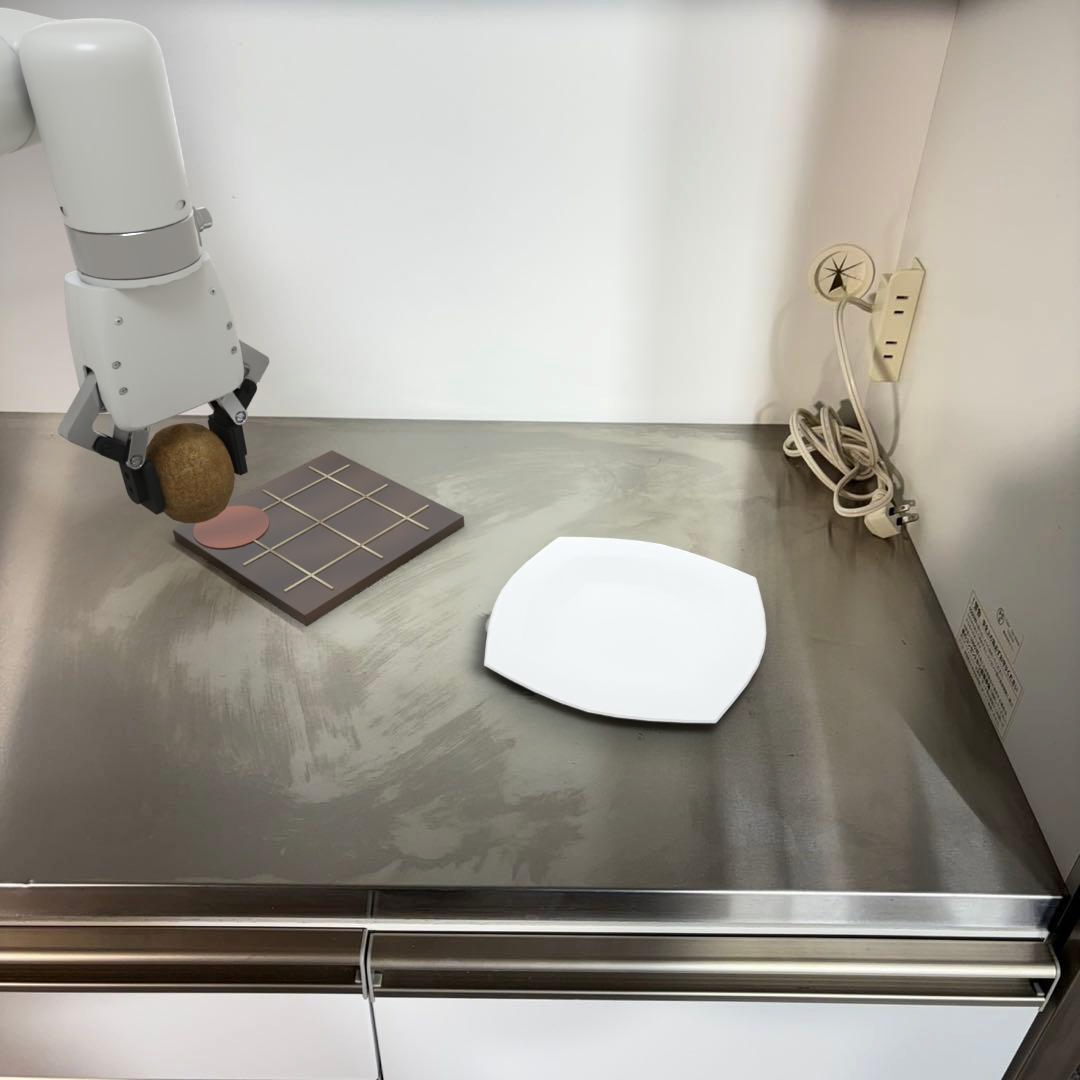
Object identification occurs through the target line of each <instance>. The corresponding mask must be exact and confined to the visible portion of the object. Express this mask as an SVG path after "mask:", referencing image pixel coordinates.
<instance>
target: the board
mask: <svg viewBox="0 0 1080 1080" xmlns="http://www.w3.org/2000/svg"><path fill="white" fill-rule="evenodd" d="M463 527H465V516H464V515H462V514H460V513H459V512H457V511H454V510H453V509H451V508H449V507H446V506H445V505H442V504H440V503H439V502H436V501H435V500H432V499H430V498H429V497H427V496H424V495H422V494H421V493H419V492H417V491H415V490H412V489H410V488H408V487H407V486H404V485H403V484H401V483H399V482H396V481H394V480H393V479H390V478H389V477H387V476H385V475H383V474H381V473H379V472H377V471H375V470H372V469H370V468H369V467H367V466H366V465H365V466H364V465H363V464H361V463H359V462H357V461H354V460H353V459H350V458H349V457H346V456H345V455H343V454H340V453H338V452H337V451H335V450H332V449H330V450H329V451H327V452H325V453H323V454H321V455H318V456H317V457H315V458H313V459H311V460H309V461H306V462H305V463H304V464H301V465H299V466H297V467H294V468H293V469H292V470H291V469H290V470H289V471H287V472H285V473H284V474H282V475H279V476H277V477H276V478H274V479H271V480H269V481H267V482H266V483H264V484H262V485H261V484H260V485H259V486H258V487H255V488H253V489H251V490H250V491H247V492H245V493H244V494H241V495H239V496H238V497H236V498H234V499H232V500H229V502H228V504H227V507H226V509H225V510H224V511H222V512H221V513H220V514H219V515H218V516H216V517H215V518H212V519H210V520H208V521H205V522H200V523H183V524H182V525H180V526H178V527H176V528H174V529H172V533H173V537H174V540H175V541H177V542H178V543H180V544H181V545H183V547H185V548H187V549H189V550H190V551H192V552H193V553H194V554H196V555H198V556H200V558H203V559H204V560H205V561H207V562H209V563H210V564H211V565H213V566H214V567H216V568H217V569H219V570H220V571H221V572H223V573H225V574H226V575H228V576H230V577H231V578H233V579H234V580H236V581H237V582H239V583H240V584H242V585H243V586H245V587H247V588H248V589H250V590H251V591H252V592H254V593H255V594H257V595H259V596H260V597H262V598H263V599H265V600H266V601H268V602H269V603H271V604H272V605H273V606H275V607H277V608H278V609H280V610H282V611H283V612H285V613H286V614H287V615H289V616H290V617H292V618H294V619H295V620H297V621H298V622H300V623H301V624H303V625H304V626H306V627H308V626H309V625H310V624H312V623H314V622H316V621H317V620H318V619H320V618H322V617H323V616H325V615H326V614H328V613H329V612H331V611H332V610H334V609H336V608H337V607H339V606H341V605H342V604H344V603H345V602H346V601H349V600H350V599H351V598H353V597H355V596H356V595H358V594H360V593H361V592H363V591H365V590H366V589H368V588H369V587H370V586H372V585H374V584H375V583H377V582H378V581H380V580H382V579H383V578H385V577H387V576H388V575H389V574H391V573H392V572H394V571H395V570H397V569H398V568H399V569H400V567H403V565H405V564H407V563H408V562H410V561H412V560H413V559H414V558H416V557H418V556H419V555H421V554H423V553H424V552H425V551H427V550H428V549H430V548H431V547H433V546H435V545H436V544H438V543H439V542H441V541H443V540H445V539H446V538H448V537H449V536H451V535H452V534H454V533H455V532H457V531H459V530H460V529H461V528H463Z"/></svg>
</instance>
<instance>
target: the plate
mask: <svg viewBox="0 0 1080 1080" xmlns="http://www.w3.org/2000/svg"><path fill="white" fill-rule="evenodd" d="M766 623H767V622H766V613H765V608H764V603H763V598H762V594H761V591H760V587H759V583H758V580H757V577H756V576H753V575H750V574H749V573H746V572H744V571H741V570H740V569H736V568H734V567H733V566H729V565H727V564H724V563H721V562H719V561H716V560H713V559H710V558H709V557H706V556H702V555H700V554H697V553H694V552H690V551H688V550H684V549H681V548H677V547H674V546H670V545H666V544H663V543H659V542H657V543H656V542H652V541H651V542H650V541H644V540H636V539H635V540H634V539H624V538H614V537H612V538H611V537H595V536H594V537H593V536H592V537H591V536H558V537H556V538H555V539H553V540H552V541H551V542H549V543H548V544H547V545H545V547H543V548H541V550H539V551H538V552H536V554H534V555H533V556H532V557H531V558H529V559H528V560H527V561H525V562H524V563H523V564H522V565H521V566H520V567H519V569H518V570H517V571H515V572H514V574H513V575H511V576H510V578H509V579H508V581H507V582H506V583H505V584H504V586H503V587H502V589H501V590H500V591H499V594H498V596H497V597H496V600H495V602H494V604H493V606H492V610H491V614H490V618H489V621H488V626H487V634H486V641H485V650H484V661H483V666H484V667H485V668H486V669H488V670H490V671H492V672H493V673H496V675H499V676H501V677H503V678H504V679H506V680H508V681H510V682H511V683H514V684H516V685H518V686H520V687H522V688H524V689H526V690H528V691H530V692H532V693H533V694H536V695H539V696H541V697H543V698H545V699H548V700H551V701H554V702H555V703H557V704H560V705H563V706H565V707H568V708H571V709H575V710H577V711H580V712H583V713H586V714H591V715H596V716H602V717H606V718H612V719H619V720H628V721H637V722H646V723H647V722H648V723H663V724H681V725H682V724H683V725H716V724H717V722H718V721H719V720H720V719H721V718H722V717H723V715H724V714H725V713H726V712H727V710H728V709H729V708H730V707H731V706H732V705H733V704H734V702H735V701H736V700H737V699H738V697H739V696H740V695H741V693H742V692H743V691H744V690H745V688H746V687H747V686H748V685H749V683H750V682H751V680H752V678H753V676H754V675H755V673H756V671H757V670H758V668H759V666H760V664H761V660H762V657H763V656H764V652H765V648H766V641H767V640H766V639H767V624H766Z"/></svg>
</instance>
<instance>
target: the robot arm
mask: <svg viewBox="0 0 1080 1080" xmlns="http://www.w3.org/2000/svg"><path fill="white" fill-rule="evenodd" d="M167 73H168V72H167V67H166V63H165V59H164V55H163V50H162V48H161V45H160V44H159V41H158V39H157V37H156V36H155V35H154V34H153V32H152V31H151V30H150V29H148V28H147V27H145V25H143V24H140V23H138V22H135V21H131V20H126V19H119V18H118V19H117V18H102V17H97V18H96V17H86V18H72V19H71V18H69V19H58V18H54V17H48V16H45V15H39V14H36V13H32V12H29V11H28V12H27V11H23V10H19V9H13V8H8V7H0V157H3V156H5V155H9V154H13V153H15V152H19V151H22V150H24V149H27V148H30V147H33V146H36V145H38V144H41V145H42V148H43V151H44V155H45V159H46V163H47V166H48V171H49V173H50V177H51V180H52V184H53V188H54V191H55V195H56V199H57V203H58V206H59V210H60V213H61V217H62V220H63V221H62V222H63V225H64V229H65V233H66V236H67V240H68V244H69V247H70V251H71V255H72V259H73V262H74V266H75V270H72V271H69V272H67V273H65V275H64V280H63V281H64V284H63V285H64V304H65V315H66V325H67V331H68V332H67V333H68V338H69V344H70V350H71V356H72V360H73V365H74V366H73V367H74V370H75V375H76V379H77V384H78V387H79V390H78V391H77V394H76V395H75V397H74V399H73V400H72V402H71V404H70V406H69V407H68V410H67V411H66V413H65V415H64V416H63V418H62V420H61V422H60V424H59V426H58V428H57V432H58V434H59V436H61V437H62V438H64V439H65V440H67V441H68V442H70V443H72V444H73V445H77V446H79V447H81V448H84V449H86V450H88V451H91V452H94V453H95V454H98V455H100V456H101V457H103V458H106V459H109V460H112V461H114V462H117V463H118V466H119V469H120V473H121V477H122V480H123V483H124V487H125V490H126V491H125V492H126V494H127V496H128V498H129V499H130V500H131V501H132V502H133V503H134V504H136V505H142V506H143V507H144V508H145V509H147V510H148V511H150V512H151V513H153V514H154V515H160V514H163V513H164V509H165V508H166V507H165V503H164V499H163V495H162V491H161V487H160V484H159V480H158V476H157V472H156V468H155V466H154V464H153V463H151V462H150V461H148V460H147V459H146V458H145V457H146V450H147V446H148V445H149V437H150V430H151V427H152V426H153V425H156V424H158V423H161V422H164V421H166V420H169V419H172V418H173V417H176V416H179V415H182V414H183V413H187V412H189V411H191V410H193V409H196V408H199V407H201V406H204V405H206V404H207V405H208V406H209V408H211V411H212V413H211V414H208V415H207V417H208V419H207V425H208V429H209V430H210V431H212V432H213V433H215V434H216V435H217V436H218V437H219V438H220V439H221V440H222V442H223V443H224V445H225V446H226V448H227V450H228V452H229V455H230V458H231V461H232V464H233V468H234V475H236V476H238V475H239V476H244V475H246V474H247V473H248V472H249V469H248V464H247V459H246V456H247V455H248V449H247V445H246V444H247V443H246V439H245V433H244V429H243V428H244V427H243V425H244V424H245V423H246V422H247V420H248V417H249V414H248V411H247V410H248V408H249V407H250V404H251V403H252V401H253V399H254V397H255V395H256V394H257V391H258V385H257V384H258V383H260V381H261V380H262V379H263V376H264V374H265V372H266V370H267V369H268V367H269V364H270V358H269V356H267V355H266V354H264V353H263V352H261V351H259V350H258V349H256V348H254V346H253V347H252V346H251V345H249V344H247V343H246V342H245V341H244V340H241V339H239V334H238V331H237V327H236V323H235V320H234V315H233V311H232V309H231V306H230V303H229V300H228V297H227V294H226V291H225V287H224V286H223V283H222V280H221V278H220V275H219V273H218V271H217V268H216V265H215V264H214V261H213V260H212V257H211V255H210V254H209V252H208V251H206V250H205V249H202V247H203V242H202V239H201V238H202V237H201V233H203V231H204V230H207V229H210V228H212V226H213V218H212V215H211V213H210V212H209V210H208V209H207V208H206V207H204V206H202V207H199V208H195V206H193V203H192V198H191V193H190V188H189V183H188V182H189V181H188V177H187V171H186V167H185V160H184V156H183V150H182V146H181V145H182V144H181V140H180V136H179V135H180V134H179V131H178V124H177V120H176V113H175V110H174V105H173V104H174V103H173V98H172V93H171V88H170V84H169V83H170V82H169V78H168V74H167ZM105 413H108V415H110V416H111V417H110V425H109V431H108V435H107V434H106V433H103V432H101V431H98V430H95V429H93V426H94V423H95V421H96V419H97V418H98V416H99V414H105Z"/></svg>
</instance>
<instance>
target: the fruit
mask: <svg viewBox="0 0 1080 1080" xmlns="http://www.w3.org/2000/svg"><path fill="white" fill-rule="evenodd" d="M145 458H146V459H147V460H148V461H150V462H151V463H153V464H154V466H155V468H156V472H157V476H158V480H159V484H160V487H161V491H162V495H163V499H164V503H165V507H166V508H165V509H164V512H163V514H165V516H167V517H168V518H170V519H171V520H172V521H176V522H179V523H183V524H186V523H200V522H205V521H208V520H210V519H212V518H215V517H216V516H218V515H219V514H220V513H221V512H222V511H224V510H225V509H226V507H227V504H228V502H230V501H231V497H232V495H233V492H234V490H235V489H234V488H235V481H236V477H235V475H236V474H235V473H234V468H233V464H232V461H231V458H230V455H229V452H228V450H227V448H226V446H225V445H224V443H223V442H222V440H221V439H220V438H219V437H218V436H217V435H216V434H215V433H213V432H212V431H210V430H209V428H207V427H206V426H205V425H203V424H199V423H194V422H182V423H181V422H180V423H176V424H175V423H174V424H172V425H169V426H165V427H164V428H161V429H159V430H158V431H157V432H156V433H154V435H153V436H152V438H151V440H150V441H149V442H148V444H147V450H146V457H145Z"/></svg>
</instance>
